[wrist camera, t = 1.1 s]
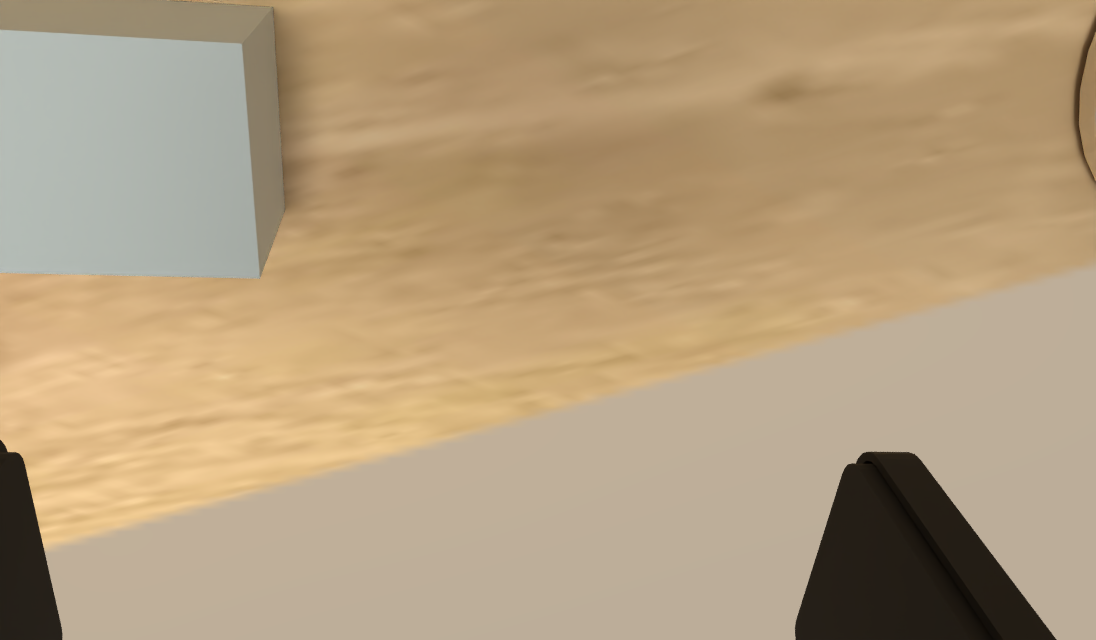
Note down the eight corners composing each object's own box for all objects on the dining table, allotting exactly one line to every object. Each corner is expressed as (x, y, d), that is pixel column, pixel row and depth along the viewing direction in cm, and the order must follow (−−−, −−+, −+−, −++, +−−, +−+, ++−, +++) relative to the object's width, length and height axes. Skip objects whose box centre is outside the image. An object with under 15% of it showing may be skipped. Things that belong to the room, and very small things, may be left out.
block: (273, 6, 25) (241, 43, 21) (285, 207, 28) (260, 278, 23) (-38, -15, 24) (-141, 21, 19) (8, 198, 27) (-74, 271, 22)
